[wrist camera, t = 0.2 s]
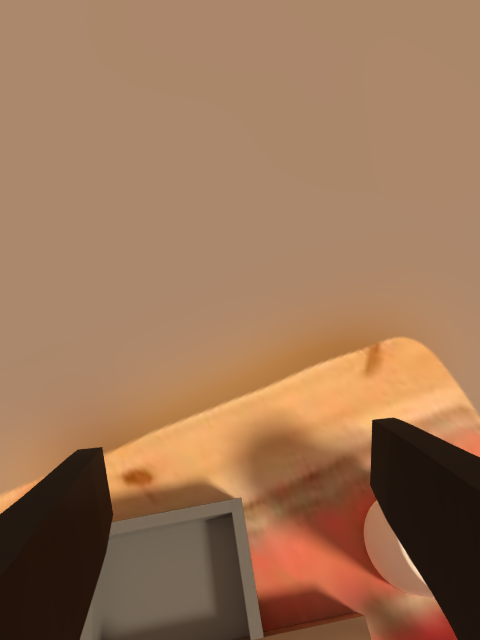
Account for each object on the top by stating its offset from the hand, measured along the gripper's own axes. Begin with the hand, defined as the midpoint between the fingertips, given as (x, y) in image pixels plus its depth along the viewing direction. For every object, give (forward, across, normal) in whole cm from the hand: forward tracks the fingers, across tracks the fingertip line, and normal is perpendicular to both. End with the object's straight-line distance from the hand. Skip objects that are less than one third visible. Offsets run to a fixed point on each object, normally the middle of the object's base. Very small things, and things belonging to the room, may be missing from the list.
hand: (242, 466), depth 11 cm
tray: (+20, +5, +24) cm, 32 cm away
